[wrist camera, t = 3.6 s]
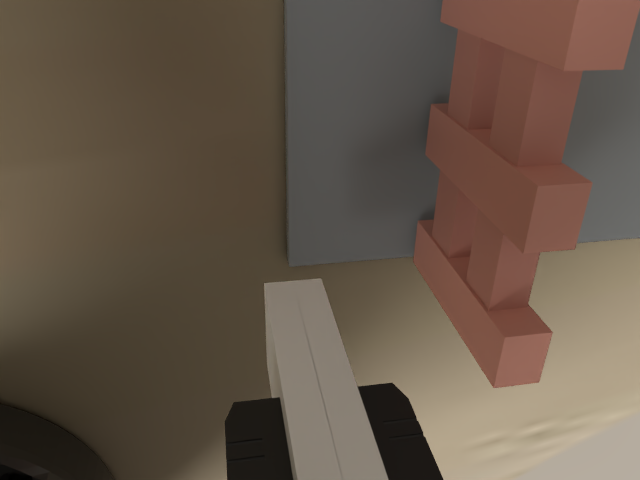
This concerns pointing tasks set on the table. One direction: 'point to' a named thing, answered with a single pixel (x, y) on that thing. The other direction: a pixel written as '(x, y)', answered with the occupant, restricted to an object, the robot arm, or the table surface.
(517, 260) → the fence gate
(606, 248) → the table surface
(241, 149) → the table surface
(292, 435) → the robot arm
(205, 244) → the table surface
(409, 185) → the card
